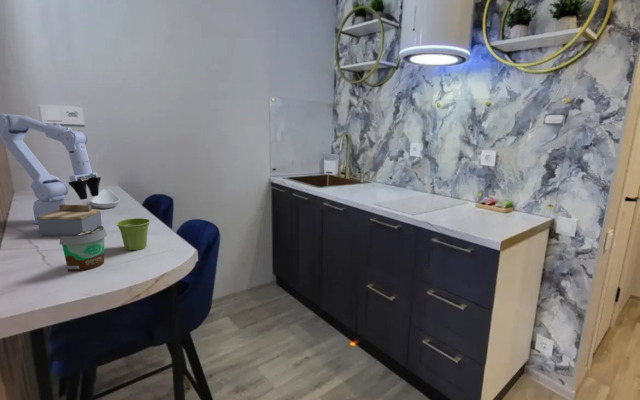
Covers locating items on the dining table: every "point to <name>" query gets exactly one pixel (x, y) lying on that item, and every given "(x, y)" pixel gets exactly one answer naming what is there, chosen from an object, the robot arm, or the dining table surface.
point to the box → (68, 225)
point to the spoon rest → (105, 199)
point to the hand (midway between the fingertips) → (89, 197)
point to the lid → (71, 212)
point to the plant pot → (134, 233)
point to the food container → (84, 249)
